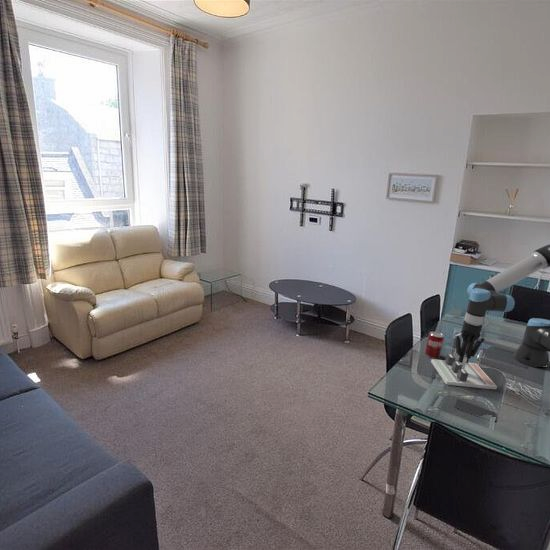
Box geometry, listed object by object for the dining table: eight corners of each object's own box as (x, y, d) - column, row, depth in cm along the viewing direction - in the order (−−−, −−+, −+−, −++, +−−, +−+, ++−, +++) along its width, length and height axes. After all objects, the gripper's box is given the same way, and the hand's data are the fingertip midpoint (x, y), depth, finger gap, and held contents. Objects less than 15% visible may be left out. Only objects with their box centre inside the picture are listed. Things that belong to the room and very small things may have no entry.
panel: (475, 366, 184) (476, 362, 183) (496, 389, 165) (497, 385, 164) (430, 361, 185) (431, 358, 184) (446, 384, 165) (447, 380, 165)
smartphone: (496, 422, 142) (454, 406, 149) (495, 424, 142) (453, 408, 149) (496, 412, 148) (456, 397, 155) (496, 414, 148) (455, 399, 155)
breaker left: (451, 362, 182) (452, 354, 181) (453, 365, 179) (455, 357, 178) (444, 361, 182) (446, 353, 181) (447, 364, 180) (449, 357, 178)
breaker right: (463, 377, 169) (465, 369, 168) (466, 381, 166) (468, 373, 165) (456, 377, 169) (458, 369, 168) (459, 380, 166) (461, 372, 165)
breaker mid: (457, 369, 176) (459, 361, 174) (460, 373, 173) (462, 365, 172) (451, 369, 176) (453, 361, 175) (453, 372, 173) (455, 364, 172)
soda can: (440, 360, 187) (446, 338, 184) (425, 357, 188) (430, 336, 185) (437, 353, 194) (442, 332, 190) (423, 351, 195) (427, 330, 192)
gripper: (483, 320, 170) (471, 365, 177) (455, 317, 171) (444, 363, 177) (492, 327, 163) (479, 374, 170) (462, 324, 163) (450, 371, 170)
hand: (461, 368), depth 174 cm, fingers closed
